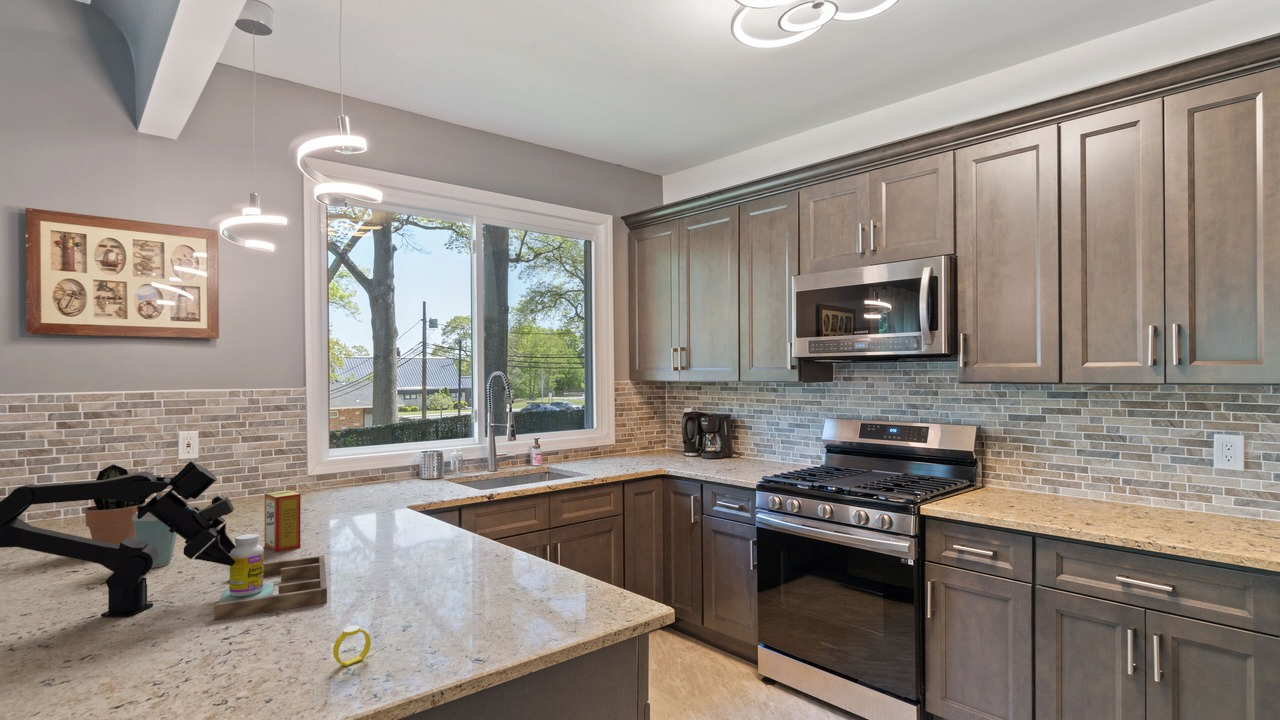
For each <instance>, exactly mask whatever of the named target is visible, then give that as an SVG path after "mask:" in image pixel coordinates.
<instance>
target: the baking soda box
mask: <svg viewBox="0 0 1280 720" xmlns="http://www.w3.org/2000/svg"><path fill="white" fill-rule="evenodd" d="M301 498H302V497H301V493H299V492H295V491H293V490H289V489H288V490H287V489H286V490H281V491H273V492H267V493H264V547H265V548H266V549H269V550H270V551H273V552H275V553H279V552H285V551H291V550H295V549H300V548H301V507H302V506H301V505H302V504H301V501H302V500H301Z"/></svg>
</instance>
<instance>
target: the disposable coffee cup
mask: <svg viewBox="0 0 1280 720" xmlns="http://www.w3.org/2000/svg"><path fill="white" fill-rule="evenodd" d="M137 515H138V512H137V513H135V515H133V519H132V520H133V523H134V529H135V536H136V540H139V541H149V542H148V543H147V544H150V545H153V546H154V547H156V549H157V551H158V554H159V557H158V561H157V562H156V563H155V565H154V566H153V567H152V568H151V569H155V568H156V569H157V568H162V567H165V566H168V565H170V564H171V561H172V560H173V555H174V554H173V553H174V550H175V546H176V545H175V544H176V541H177V535H178V534H177V533H176V532H173V533H171V532H170V531H168V530H169V529H170V528H169V527H167V526H166V525H165V524H163V523H162V522H161V521H159V520H158V519H157V518H155V517H154V516H153V515H151V514H150V513H149V512H148V513H147V514H146V515H144V516H143V517H142V518H141V519H137ZM169 523H170V522H169ZM169 523H168V524H169Z"/></svg>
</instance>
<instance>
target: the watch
mask: <svg viewBox="0 0 1280 720" xmlns="http://www.w3.org/2000/svg"><path fill="white" fill-rule="evenodd" d="M359 633H361V634H362V635H363V636H364V640H365V644H364V646H363V650H361V652H360V654H359V655H358V656H356V657H354V658H351V659H349V660H347V661H342V660H341V658H340V656H339V655H340V654H339V653H340V652H339V651H340V650H339V649H340V647H341V644H342V642H343V641H344V640H345V639H346V638H347V637H350V636H351V637H352V636H355V635H357V634H359ZM371 643H372V641H371V636H370V634H369V633H368V632H367V631H366V630H364V629H362V628H361V627H360V625H350V626H347V627H344V628H343V629H342V633H341V634H340V635H339V636H338V637H337V638H336V640H335V642H334V644H333V647H332V652H333V653H332V655H333V658H334V659H335V661H336V663H338V664H340V665H342V666H344V667H348V666H350V665H353V664H355V663H358V662H360V661H363V660H364V659H365V658H366V656H367V655H368V654H369V652H370V649H371Z"/></svg>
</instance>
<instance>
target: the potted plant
mask: <svg viewBox="0 0 1280 720" xmlns="http://www.w3.org/2000/svg"><path fill="white" fill-rule="evenodd" d="M128 474H129V472H128V470H127V469H126V468H124V467H121V466H119V465H116V464H113V463H112V464H111V465H109V466H107V467H105V468H103V469H102V470H99V472H98V475H97V477H96V479H95V481H97V480H106V479H111V478H115V477H120V476H124V475H128ZM146 500H147V499H145V500H143V501H140V502H123V501H113V500H106V499H95V500H93V503H94V505H92V506H88V507H86V508H85V509H84V512H85V513H84V516H85V517H84V518H85V526H86V527H88V529H89V532H90V536H91V539H93V540H98V541H103V542H107V543H121V542H122V541H123V540H124V539H126V538H127V537H131V538H134V539H136V536H135V529H134V523H133V520H132V519H133V515H135V513H137V512H138V510H137V506H139V505H144V504H146V503H147V502H146Z"/></svg>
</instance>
